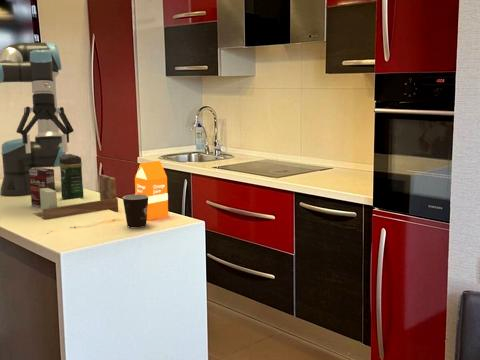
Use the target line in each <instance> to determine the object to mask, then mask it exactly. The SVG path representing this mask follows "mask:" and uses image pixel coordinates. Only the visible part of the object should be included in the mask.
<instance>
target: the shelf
mask: <svg viewBox="0 0 480 360" xmlns="http://www.w3.org/2000/svg"><path fill="white" fill-rule="evenodd" d="M116 180H117V179H116V178H115V177H113V176H108V175H106V174H99V175H98V182H99V200H95V201H90V202H89V201H88V202H82V203H76V204H69V205H63V206H62V205H61V206H57V207H55V208H48V209H43V214H42V213H41V211H39V212H33V213H32V214H33V215H35V216H37V217H38V218H40V219H42V220H46V221H47V220H52V219H58V218H65V217H70V216H75V215H82V214H88V213H95V212H101V211H106V210H108V211H111V212H115V213H119V199H118V198H117V183H116Z"/></svg>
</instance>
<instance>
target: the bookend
mask: <svg viewBox="0 0 480 360" xmlns="http://www.w3.org/2000/svg"><path fill="white" fill-rule="evenodd" d="M40 200H41V207H40V212H41V213H42V214H43V209H48V208H55V207H58V197H57V190H55V191H54V190H52V189H49V188H43V189H40Z"/></svg>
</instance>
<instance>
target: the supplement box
mask: <svg viewBox="0 0 480 360" xmlns="http://www.w3.org/2000/svg"><path fill="white" fill-rule="evenodd" d="M29 176H30V189H31V194H30V200H31V207H33V208H41V200H40V189H43V188H49V189H52V190H54V191H56V184H55V183H56V182H55V169H54V168H48V167H44V168H38V167H37V168H32V169H29Z"/></svg>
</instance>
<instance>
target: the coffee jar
mask: <svg viewBox="0 0 480 360" xmlns="http://www.w3.org/2000/svg"><path fill="white" fill-rule="evenodd" d="M59 163H60V166H59V167H60V169H59V170H60V187H61V188H60V190H61V191H60V192H61V198H62V199H63V200H65V201H66V200H67V201H69V200H73V199H74V200H76V199H84V185H83V169H82V168H83V165H82V164H83V162H82V157H81V156H78V155H76V154H71V153H66V154H65V155H62V156H61V157H60V162H59Z"/></svg>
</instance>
